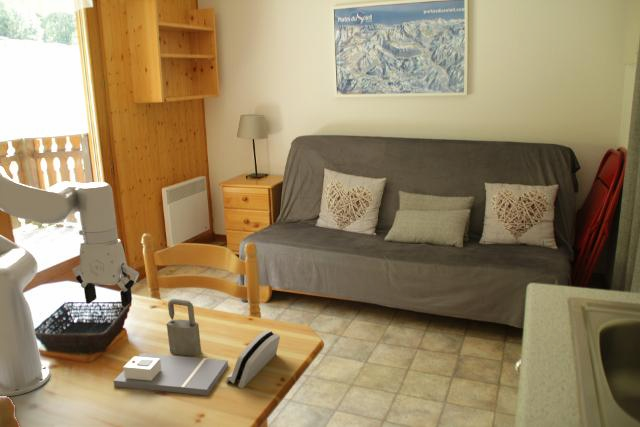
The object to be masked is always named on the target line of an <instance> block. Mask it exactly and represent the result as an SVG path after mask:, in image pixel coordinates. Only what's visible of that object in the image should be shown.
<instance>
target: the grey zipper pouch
mask: <svg viewBox="0 0 640 427" xmlns="http://www.w3.org/2000/svg"><path fill="white" fill-rule="evenodd" d="M280 339H281V337H280V335H278V333H274V332H273V331H272V330H270V329H266V330H264V331H262V332H261V333H259V334H258V335H257V336H256V337H254V338H253V339H252V340H251V341H250V342H249V343H248V345H247V346H246V347H245V348H244V349H243V350H242V352H241V353H240V354H239V355H238V357H237V360H236V361H235V366H234V368H233V370H232V372H231V373H230V374H229V375H228V376H227V377H226V379H225V384H229V383H230V382H231V383H232V384H236V383H237V385H238V386H237V387H239V388H241V389H243V388H245V386H246V385H248V383H250V381H251V380H252V379H253V378H255V377H256V375H258V373H259V372H260V371H261V370H262V369H263V368H264V367H265V366H266V365H268V363H269V362H270V361H271V360H272V359H273V358H274V357H275V356H276V354H277V351H278V348H279V343H280Z"/></svg>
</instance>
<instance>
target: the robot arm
mask: <svg viewBox="0 0 640 427" xmlns="http://www.w3.org/2000/svg"><path fill="white" fill-rule="evenodd" d="M0 211H2V212H4V213H5V214H7V215H10V216H13V217H15V218H18V219H22V220H27V221H31V222H35V223H41V224H47V225H53V224H59V223H61V222H63V221H65V220H66V219H67V218H68V217H70V216H71V215H72V214H75V213H78V212H79V216H80V217H79V218H80V224H81V229H79V231H78V234H79V235H80V236H82V239H83V240H82V241H81V242H80V248H79V265H76V266H75V267H73V268H72V269H71V272H72V273H73V274H74V277H75V279H76V281H77V282H78V283H79V284H80V287H81V288H82V289H83V290H84V297H85V302H86V304H90V303H92V302H94V301H95V300H97V292H96V285H107V286H116V285H117V286H118V287H119V288H120V289H121V291H120V292H119V293H120V301H121V307H123V308H126V307H127V306H128V305H130V304H131V303H132V302H133V294H132V287H134V285H135V284H136V283H137V282H138V278H139V275H140V272H139V271H137V270H135V269H134V268H132V267H130V266H129V265H128V263H127V259H126V254H125V251H124V250H125V249H124V247H123V244H122V241H121V239H119V233H118V227H117V216H116V210H115V202H114V193H113V188H112V186H111V185H110V183H108V182H104V181H94V182H92V181H91V182H87V183H82V182H74V181H60V182H57V183H55V184H53V185H51V186H49V187H48V188H46V189H43V188H39V187H34V186H30V185H26V184H23V183H19V182H18V181H15V180H14V179H12V178H10V177H9V176H8V175H7V172H6V169H5V168H4V167H3V166H1V165H0ZM38 267H39V266H38V262H37V259H36V258H35V257H34V255H33V254H32V253H31V252H30V251H28V250H27V249H26V248H24V247H21V246H20V245H18V244H17V243H16V242H13V241H12V240H10V239H9V238H7V237H5V236H3V235H2V234H0V396H1V397H2V396H3V397H12V396H19V395H24V394H26V393H29V392H31V391H34V390H36V389H39V388H40V387H41V386H43V385H44V384H45V383H46V382H47V381H48V380H49V379H50V377H51V370H50V367H48V366H46V365H43V364H42V361H41V356H40V351H39V346H38V341H37V334H36V330H35V325H34V320H33V316H32V312H31V308H30V305H29V303H28V300H27V299H26V296H25V294H24V289H25V288H26V287H27V285H28V284H29V283H31V282H32V280H33V279H34V278H35V277H36V274H37V272H38ZM128 275H129V277H130V278H128Z"/></svg>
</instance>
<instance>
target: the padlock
mask: <svg viewBox="0 0 640 427" xmlns="http://www.w3.org/2000/svg"><path fill="white" fill-rule="evenodd" d="M167 304H168V305H167V308H168V310H167V311H168V315H169V317H170V320H169V321H168V322H167V323H166V329H167V331H166V332H167V339H168V347H169V352H170V353H173V354H175V355H178V356H184V357H193V356H198V355H199V354H200V353H201V352H202V346H201V345H202V344H201V338H200V330H199V329H200V326H199V322H196V321H195V320H196V318H195V311H194V310H195V309H194V304H193V303H192V302H191V301H189V300H187V299H179V298H172V299H170V300H169V301H168V302H167ZM175 305H177V306H183V307H187V314H188V319H174V317H175V308H174V307H175Z"/></svg>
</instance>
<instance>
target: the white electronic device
mask: <svg viewBox="0 0 640 427" xmlns="http://www.w3.org/2000/svg"><path fill="white" fill-rule="evenodd" d="M122 369H123V371H124V375H125V378H129V379H140V380H150V381H152V379H153V378H154V377H155V376H156V375H157V374H158V373H159V372H160V371H161V361H160V358H148V357H138V356H136V355H134V356H133V357H132V358H131V359H130V360H128V362H127V363H126V364H125V365H124V366H123V367H122Z"/></svg>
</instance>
